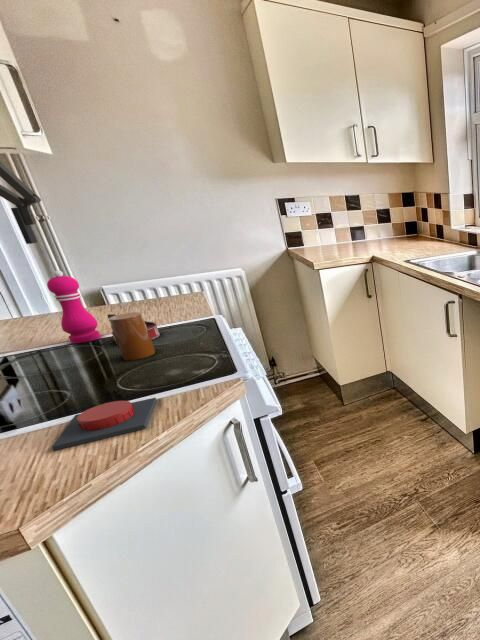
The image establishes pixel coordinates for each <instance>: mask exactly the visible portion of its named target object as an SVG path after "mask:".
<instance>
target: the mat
mask: <svg viewBox="0 0 480 640" xmlns="http://www.w3.org/2000/svg"><path fill="white" fill-rule="evenodd" d="M157 401H158V399H157V397H151V398H147V399H142V400H138V401H133V402H131V404H132V405H133V408H134V410H135V411H134V412H135V413H134V415H133V416H132V417H131V418H129V419H128V420H126V421H124V422H122V423H120V424H117V425H114V426H111V427H108V428H104V429H100V430H92V431H86V430H83V429H81V427H80V426H79V424H78V420H77V417H78V416H79V415H80V414H81V413H77V414H75V415H74V416H73V417H72V419H71V420H70V422H69V423H68V424H67V425H66V427H65V429H63V431H62V432H61V434H60V435H59V437H58V438H57V439H56V440H55V441H54V443H53V445H52V446H51V448H52V450H53V451H58V450H63V449H67V448H71V447H74V446H78V445H82V444H87V443H91V442H95V441H99V440H103V439H107V438H112V437H115V436H121V435H125V434H127V433H132V432H136V431H141V430H144V429H147V427H148V424H149V422H150V419H151V417H152V414H153V412H154V409H155V406H156V404H157Z"/></svg>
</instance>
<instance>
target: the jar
mask: <svg viewBox="0 0 480 640" xmlns="http://www.w3.org/2000/svg"><path fill="white" fill-rule="evenodd" d="M115 315H116V316H113V317H111V318H108V322H109V323H110V324H109V325H110V328H111V331H112V332H113V333H114V336H115V338H116V341H117V344H116V345H117V346H118V348H119V351H120V353H121V356H122V359H123V360H125V361H134V360H140V359H145V358H148V357H151V356H153V355H155V354H156V348H155V346H154V343H153V340H152V339H151V338H150V335H149V332H148V330H147V327H146V324H145V321H146V320H145V319H144V318H143V315H142V313H141V312H126V313H120V314H115Z"/></svg>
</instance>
